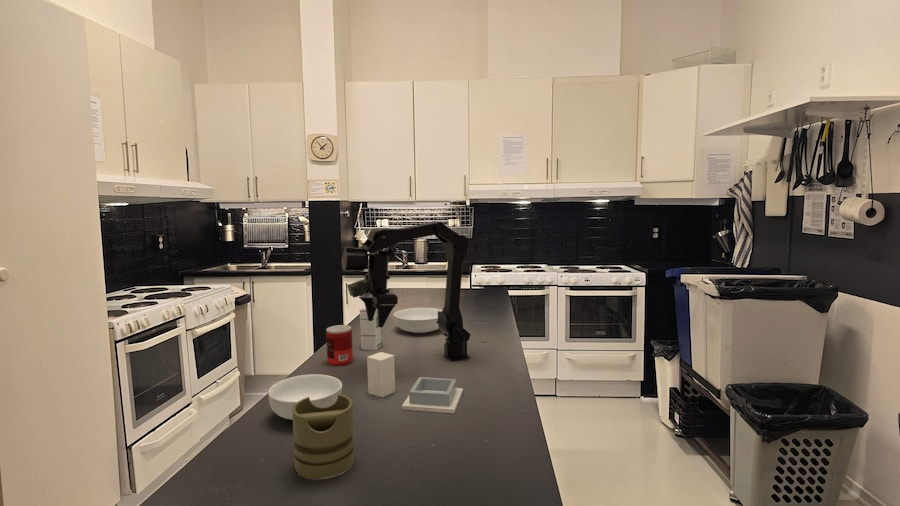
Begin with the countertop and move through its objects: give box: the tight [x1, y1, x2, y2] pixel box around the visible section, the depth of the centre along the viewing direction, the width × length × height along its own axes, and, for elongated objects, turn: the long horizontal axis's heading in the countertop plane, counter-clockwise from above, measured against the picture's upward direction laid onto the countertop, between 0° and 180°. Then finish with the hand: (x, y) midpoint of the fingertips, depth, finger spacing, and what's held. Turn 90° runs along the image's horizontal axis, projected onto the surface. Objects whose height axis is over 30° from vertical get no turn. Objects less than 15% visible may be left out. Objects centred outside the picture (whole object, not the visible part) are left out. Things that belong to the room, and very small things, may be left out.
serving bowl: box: [392, 307, 443, 334], centre depth 190 cm, size 21×21×7 cm
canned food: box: [325, 324, 354, 367], centre depth 154 cm, size 8×8×11 cm
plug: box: [366, 351, 396, 398], centre depth 130 cm, size 5×5×10 cm
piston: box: [292, 394, 355, 479], centre depth 95 cm, size 11×12×11 cm
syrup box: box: [359, 305, 384, 351], centre depth 168 cm, size 6×6×14 cm
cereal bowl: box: [267, 373, 343, 421], centre depth 117 cm, size 17×17×7 cm
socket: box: [401, 376, 464, 414], centre depth 125 cm, size 13×13×4 cm
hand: (375, 324), depth 144 cm, fingers open, 9 cm apart
